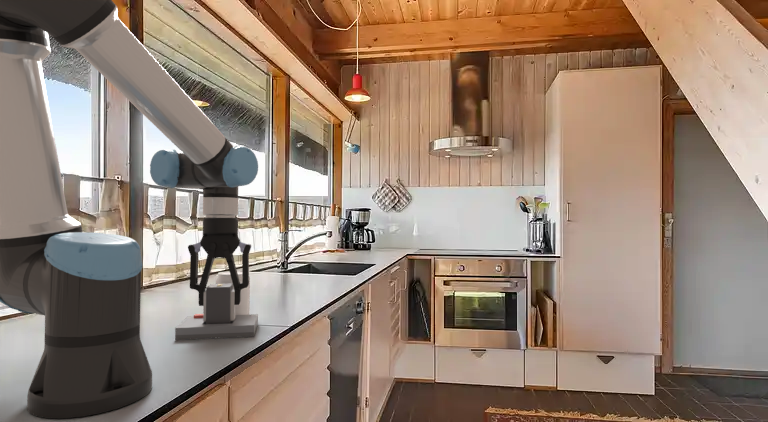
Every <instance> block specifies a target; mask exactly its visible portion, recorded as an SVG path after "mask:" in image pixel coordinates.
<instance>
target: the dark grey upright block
mask: <svg viewBox="0 0 768 422" xmlns="http://www.w3.org/2000/svg"><path fill="white" fill-rule="evenodd" d="M232 290H233V284H216V283H210V284H208V285H207V286H206V324H219V323H230V322H231V321H230V314H231V291H232Z"/></svg>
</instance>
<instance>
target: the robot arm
mask: <svg viewBox="0 0 768 422" xmlns="http://www.w3.org/2000/svg"><path fill="white" fill-rule="evenodd" d="M49 36H51V37H52V38H53V39H54V40H55V41H56V42H57V43H58V44H59V45H60V46H62V48H69V49H74V50H76V51H77V52H78V53H79V54H80V55H81V56H82V57H83V58H84V59H85V60H86V62H88V63H90V65H91V66H92V67H93V68H94V69H96V71H98V72H99V73H100V74H101V76H103V77H104V79H106V81H108V83H110V84H111V85H112V86H113V87H114V88H115V89H116V90H117V91H118V92H119V93H121V94H122V96H123V97H124V98H125V99H126V100H128V101H129V102H130V103H131V105H133V106H134V107H135V108H136V109H137V110H138V111H139V112H140V113H141V114H142V115H143V116H144V117H145V118H146V119H148V121H149V122H150V123H152V125H154V126H155V127H156V129H158V130H159V131H160V132H161V133H162V134H163V135H164V136H165V137H166V138H167V139H169V141H170V142H171V143H172V144H173V145H174V146H175V147H176V148H177V149H179V150H176V149H160V150H158V151H157V152H155V153H154V155H153V156H152V158H151V160H150V164H149V168H150V169H149V173H150V177H151V180H152V181H153V182H154V184H156V185H157V186H160V187H161V188H163V187H164V188H165V187H166V188H169V189H189V190H190V189H192V190H202V215H203V216H205V217H204V218H203V219H202V238H201V239H200V241H199V242H197V243H191V244H189V245H187V249H188V250H187V251H188V253H189V255H190V260H189V265H190V266H189V289H191V290H195V291H197V293H198V306H200V307H203V310H202V311H203V312H202V314H203V322H206V287H207V286H208V282H209V279H210V275H211V272H212V269H213V265H214V261H215V259H218V258H221V259H225V261H226V263H227V267H228V271H230V275H231V279H232V282H233V286H234V290H232V291H231V314H230V321H233V320H234V319H235V311H236V305H239V304H240V301H241V289H243V288H247V287H248V285H249V277H250V262H249V261H250V255H249V254H250V252H251V249H252V244H250V243H245V242H242V241H241V239H240V238H239V219H238V217H236V216H238V215H239V187H243V186H248V185H250V184H251V183H252V182H254V181H255V179H256V177H257V175H258V171H259V161H258V158H257V156H256V154H255V153H254V151H253V150H252V149H250V148H249V147H246V146H240V145H235V146H234V145H233V144H232V143H231V141H229V140H228V138H226V137H225V136H224V135H225V134H224V133H222V132H221V131H220V129H218V127H217V126H216V125H215V124H214V123H213V122H212V121H211V119H210V118H209V117H208V116H207V115H206V114H205V113H204V111H202V110H201V108H199V106H198V105H197V104H196V103H195V102H194V101H193V99H191V97H190V96H189V95H188V94H187V93H186V92H185V91H184V89H183V88H182V87H181V86H180V85H179V84H178V83H177V82H176V80H175V79H174V78H173V77H172V76H171V75H170V74H169V73H168V72H167V71H166V69H165V68H164V67H163V66H162V65H161V64H160V63H159V61H157V59H156V58H154V56H153V55H152V54H151V52H149V51H148V50H147V48H146V47H145V46H144V44H142V42H140V40H139V39H138V38H137V37H136V36H135V35H134V34H133V33H132V32H131V31H130V29H129V28H128V27H127V26H126V24H124V23H123V22H122V21H121V19H120V18H119V16H118V6H117V5H116V3H114V1H113V0H0V303H1V304H3V305H5V306H7V307H8V308H10V309H12V310H16V311H18V312H20V313H26V314H36V315H41V316H43V317H44V347H43V348H44V350H43V352H42V355H41V356H40V357H41V358H40V360H39V362H38V365H37V368H36V370H35V372H34V375H33V377H32V379H31V382H30V384H29V385H30V386H29V388H28V391H27V399H26V400H27V403H26V406H27V407H26V409H27V412H28V413H29V414H31V415H33V416H36V417H40V418H47V419H69V418H80V417H86V416H92V415H97V414H102V413H106V412H110V411H113V410H117V409H120V408H123V407H126V406H127V405H132V404H134V403H135V402H137V401H139V400H141V399H142V398H144V397H146V395H148V394H149V393H150V392H151V390H152V389H153V371H152V368H151V366H150V363H149V359H148V357H147V354H146V352H145V348H144V346H143V344H142V341H141V332H140V331H141V293H142V291H141V287H142V286H141V285H142V269H143V260H142V252H141V247H140V244H139V243H138V242H137V240H136V239H134V238H132V237H129V236H125V235H119V234H114V233H103V232H86V231H85V232H84V231H83V227H82V224H81V223H82V222H80V221H78V220H76V219H75V218H74V217H72V216H70V214H69V212H68V208H67V207H68V206H67V202H66V196H65V191H64V185H63V180H62V179H63V178H62V173H61V167H60V162H59V157H58V151H57V146H56V145H57V144H56V139H55V133H54V128H53V123H52V116H51V111H50V105H49V100H48V99H49V98H48V95H47V87H46V83H45V78H44V72H43V65H42V64H43V61H44V60H45V59H46V58H47V57H48V56H49V55H50V54H51V53H52V52H51V51H52V49H51V45H50V38H49ZM201 248H202V249H203V250H204V252H205V253H206V254H207V256H206V259H205V264H204V268H203V272H202V275H201V278H200V282H199V283H198V281H199V253H200V252H201ZM238 248H240V249H239V250H240V253H242V255H241V256H242V257H241V261H242V264H241V265H242V268H241V271H242V283H240V281H239V277H238V273H237V271H238V269H237V268H236V267H237V266H236V262H235V257H234V253H235V252H236V250H237V249H238Z"/></svg>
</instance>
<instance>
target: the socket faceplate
mask: <svg viewBox="0 0 768 422" xmlns="http://www.w3.org/2000/svg"><path fill="white" fill-rule="evenodd" d="M258 325H259V314H258V313H256V314H251V313H250V314H249V315H235V319H234V320H233V321H231V322H230V323H219V324H206V322H203V313H195V314H193V315H192V316H186V317H185V318H184V319H183V320H182V321H181V322H180V323H179V324H178V325H177V326H176V327H175V328H174V329H175V332H174V334H175V335H174V340H175V341H180V340H181V341H183V340H203V339H204V340H205V339H206V340H207V339H228V338H229V339H230V338H254V337H255V335H256V331H257V329H258Z"/></svg>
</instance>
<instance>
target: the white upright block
mask: <svg viewBox="0 0 768 422" xmlns="http://www.w3.org/2000/svg"><path fill="white" fill-rule="evenodd" d="M237 273H238V277H239V281H240V283H242V270H237ZM250 277H251V276H249V285H248V287H247V288H243V289H241V301H240V304H239V305H236V311H235V315H250V310H251V309H250V302H251V301H250V293H251V289H250V288H251V278H250ZM215 284H233V282H232V279H231V275H230V271H229V270H227V271H219V272H218V273H217V276H216V277H215ZM233 290H234V286H233Z"/></svg>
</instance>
